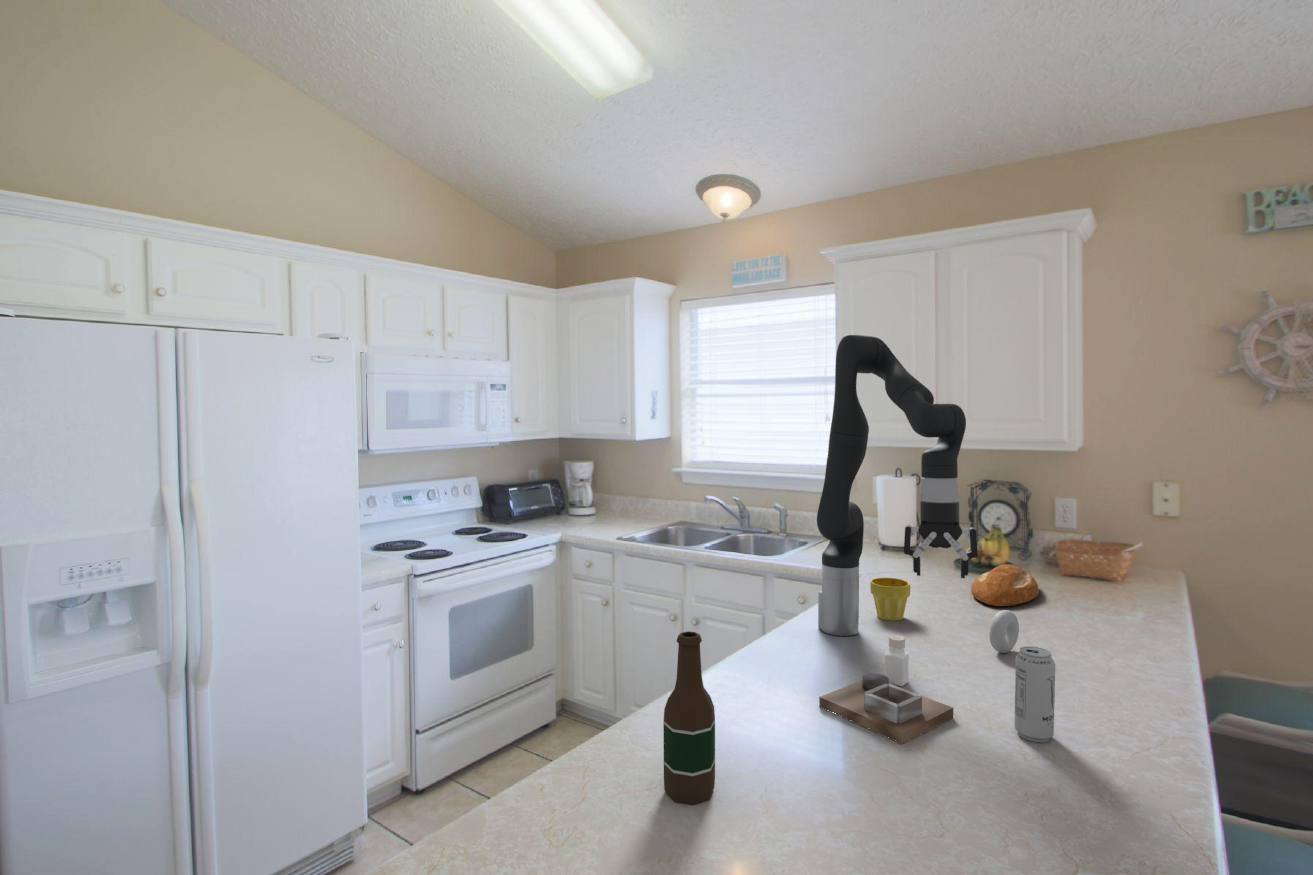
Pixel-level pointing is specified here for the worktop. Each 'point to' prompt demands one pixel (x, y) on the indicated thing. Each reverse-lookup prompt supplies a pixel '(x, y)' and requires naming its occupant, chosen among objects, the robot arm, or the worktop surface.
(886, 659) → the salt shaker
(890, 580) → the plant pot
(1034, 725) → the energy drink can
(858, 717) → the carrier board
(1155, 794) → the worktop surface
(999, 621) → the donut
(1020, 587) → the bread
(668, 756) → the beer bottle
